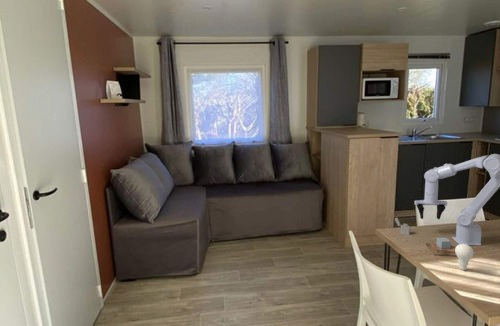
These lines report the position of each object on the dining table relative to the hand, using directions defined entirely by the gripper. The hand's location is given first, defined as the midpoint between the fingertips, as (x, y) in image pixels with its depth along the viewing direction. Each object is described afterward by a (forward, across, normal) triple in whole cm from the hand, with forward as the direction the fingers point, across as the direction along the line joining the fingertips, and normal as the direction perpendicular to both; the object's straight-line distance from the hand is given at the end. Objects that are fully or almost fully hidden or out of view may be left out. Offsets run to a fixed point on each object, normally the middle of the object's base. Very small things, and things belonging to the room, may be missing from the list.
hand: (429, 218), depth 156 cm
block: (+8, 0, +19) cm, 20 cm away
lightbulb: (+9, -1, +36) cm, 37 cm away
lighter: (+9, +13, 0) cm, 16 cm away
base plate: (+8, 0, +19) cm, 21 cm away
